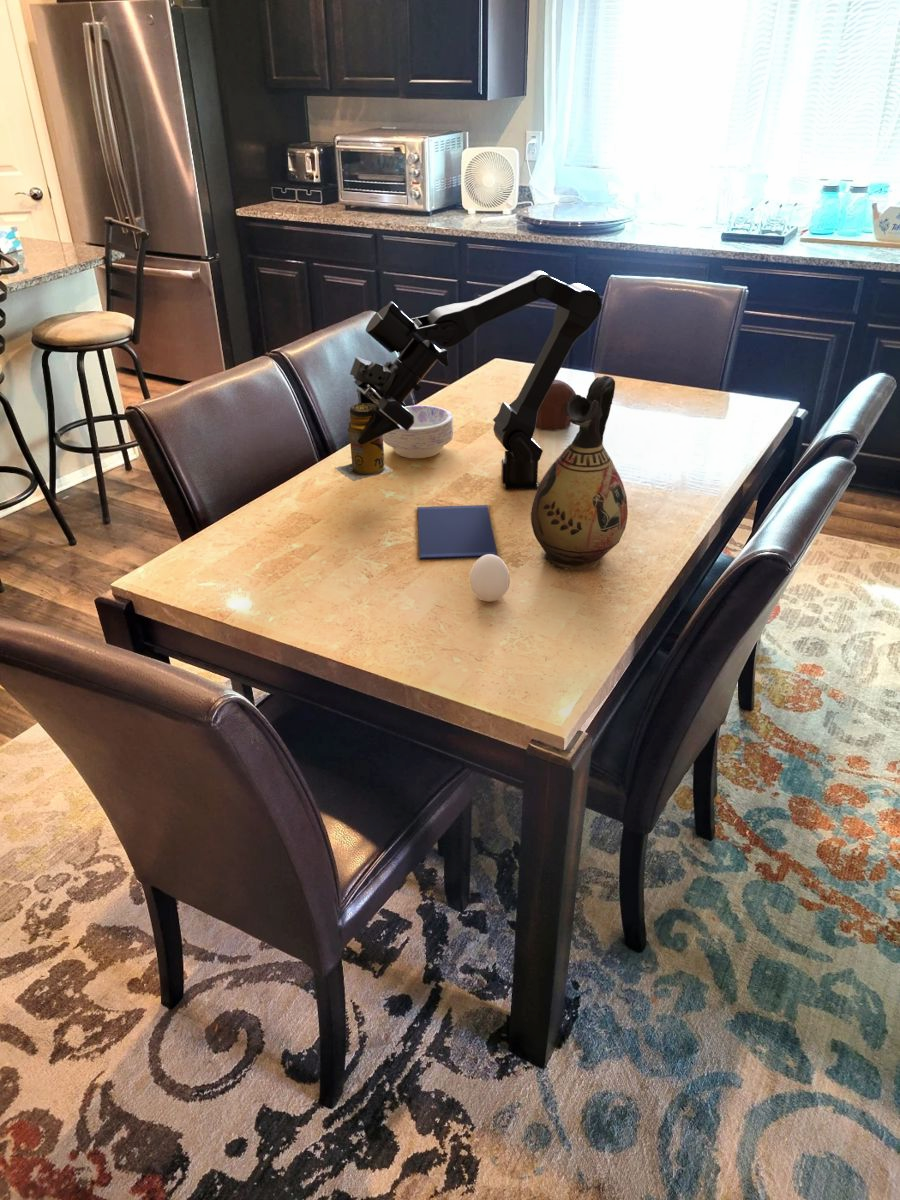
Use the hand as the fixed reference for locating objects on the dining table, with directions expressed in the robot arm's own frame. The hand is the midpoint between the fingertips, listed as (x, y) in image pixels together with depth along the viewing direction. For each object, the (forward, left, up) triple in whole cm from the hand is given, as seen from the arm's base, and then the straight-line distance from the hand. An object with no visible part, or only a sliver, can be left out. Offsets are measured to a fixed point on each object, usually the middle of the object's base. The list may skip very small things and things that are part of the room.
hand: (354, 437), depth 154 cm
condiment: (-1, 0, -7) cm, 7 cm away
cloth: (-18, +13, -13) cm, 26 cm away
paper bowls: (-12, -27, -13) cm, 32 cm away
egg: (-22, +36, -13) cm, 44 cm away
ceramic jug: (-38, +23, -13) cm, 46 cm away
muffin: (-43, -42, -13) cm, 61 cm away
